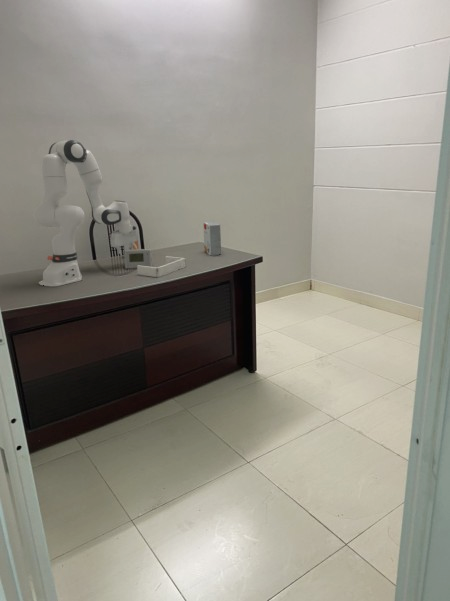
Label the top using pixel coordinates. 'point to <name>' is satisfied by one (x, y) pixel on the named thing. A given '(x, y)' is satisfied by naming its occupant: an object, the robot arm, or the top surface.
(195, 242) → the top surface
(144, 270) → the bin
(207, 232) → the hard drive box
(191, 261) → the top surface
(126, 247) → the small box
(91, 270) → the top surface
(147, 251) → the digital clock
